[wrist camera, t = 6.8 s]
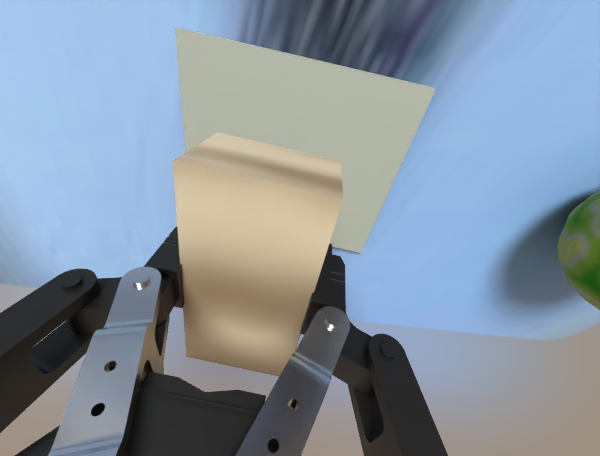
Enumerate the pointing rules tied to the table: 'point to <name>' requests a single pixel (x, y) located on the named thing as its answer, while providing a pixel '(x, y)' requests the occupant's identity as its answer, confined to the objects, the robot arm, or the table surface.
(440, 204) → the table surface
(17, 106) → the table surface
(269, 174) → the beige wooden block
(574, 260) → the decorative ball
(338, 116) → the mat
